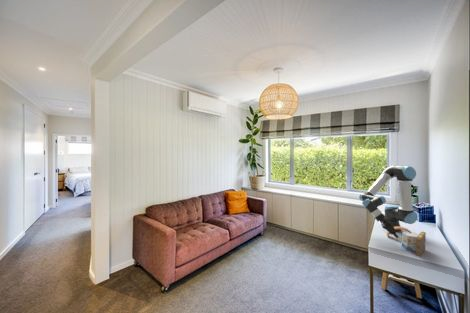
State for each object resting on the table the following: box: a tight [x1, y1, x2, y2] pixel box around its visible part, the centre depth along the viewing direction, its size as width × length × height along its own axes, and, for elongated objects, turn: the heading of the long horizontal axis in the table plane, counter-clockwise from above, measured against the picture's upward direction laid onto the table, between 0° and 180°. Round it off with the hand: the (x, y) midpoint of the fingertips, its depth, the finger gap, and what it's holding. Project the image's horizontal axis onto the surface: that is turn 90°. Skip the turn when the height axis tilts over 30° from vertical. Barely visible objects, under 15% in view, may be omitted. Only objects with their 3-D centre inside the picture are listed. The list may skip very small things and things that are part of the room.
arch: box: [386, 225, 413, 238], centre depth 183 cm, size 6×20×10 cm, turn 60°
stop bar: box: [415, 230, 427, 257], centre depth 157 cm, size 18×2×14 cm, turn 128°
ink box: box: [401, 231, 419, 252], centre depth 164 cm, size 9×8×12 cm
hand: (401, 240), depth 167 cm, fingers closed
